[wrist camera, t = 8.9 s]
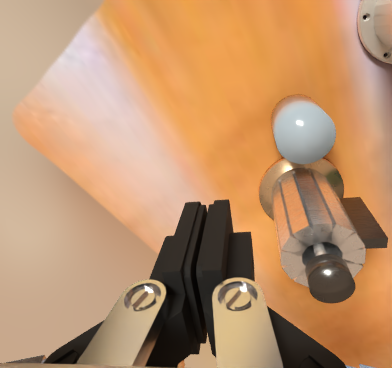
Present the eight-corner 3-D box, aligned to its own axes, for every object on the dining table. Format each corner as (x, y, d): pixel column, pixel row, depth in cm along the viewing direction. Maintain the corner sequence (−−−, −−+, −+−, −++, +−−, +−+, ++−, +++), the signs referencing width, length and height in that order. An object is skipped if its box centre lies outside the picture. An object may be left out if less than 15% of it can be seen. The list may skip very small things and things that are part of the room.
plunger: (317, 185, 47) (356, 269, 31) (317, 211, 49) (353, 303, 32) (287, 187, 48) (309, 270, 31) (288, 212, 50) (309, 303, 33)
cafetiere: (352, 148, 47) (402, 204, 32) (348, 222, 52) (389, 299, 37) (256, 157, 50) (260, 212, 35) (261, 226, 55) (267, 299, 40)
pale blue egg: (320, 91, 44) (336, 105, 36) (319, 139, 47) (334, 161, 39) (269, 97, 45) (274, 112, 37) (271, 143, 48) (277, 166, 40)
